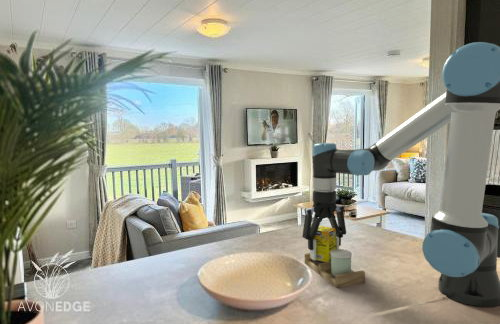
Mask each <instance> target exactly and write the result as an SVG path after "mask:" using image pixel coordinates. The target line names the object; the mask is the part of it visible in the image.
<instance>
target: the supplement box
mask: <svg viewBox="0 0 500 324" xmlns="http://www.w3.org/2000/svg"><path fill="white" fill-rule="evenodd" d="M314 240H316V260H313V261H314V262H318V263H325V262H331V251H332V250H335V249H336V229H335V228H332V226H331V227H330V226H324V225H319V227H318V230H317V233H316V235H315V238H314Z"/></svg>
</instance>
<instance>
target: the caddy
mask: <svg viewBox="0 0 500 324" xmlns="http://www.w3.org/2000/svg"><path fill="white" fill-rule="evenodd" d="M304 264H305V265H306V266H307V267H308V268H310V269H311V270H313V271H315V273H317V274H318V275H319V276H321V277H322V278H323V279H325V280H326V281H327V282H328V283H330V284H331V285H332V286H334V287H335V288H337V289H341V288H344V287H345V288H346V287H350V286H355V285H360V284H365V283H366V282H365V280H366V275H365V274H366V272H365V271H364V270H358V271H355V270H353V269H351V273H345V274H340V275H335V279H334V278H333V277H332V276H331V262H325V263H318V262H314V261H313V259H311V258H310V252H306V253H304Z"/></svg>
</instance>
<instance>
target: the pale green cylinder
mask: <svg viewBox="0 0 500 324" xmlns="http://www.w3.org/2000/svg"><path fill="white" fill-rule="evenodd" d="M351 270H352V252H351V251H350V250H347V249H343V248H339V249H335V250H332V251H331V276H332V277H333V278H334V279H335V275H340V274H345V273H351Z"/></svg>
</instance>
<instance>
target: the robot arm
mask: <svg viewBox="0 0 500 324" xmlns="http://www.w3.org/2000/svg"><path fill="white" fill-rule="evenodd" d="M441 79H442V82H443V85H444V87H445V89H446V91H445V92H444V93H442V94H441V95H439V96H437V97H436V98H435V99H434V100H433V101H431V102H430V103H429V104H427V105H425V106H424V107H423V108H422V109H420V110H419V111H417V112H415V113H414V114H413V115H412V116H411V117H409V118H407V119H406V120H405V121H404V122H402V123H401V124H399V125H398V126H396V127H395V128H394V129H393V130H391V131H390V132H388V133H387V134H385V135H384V136H383V137H381V138H380V139H378V140H377V141H376V142H375V143H372V145H370V146H369V147H367V148H360V149H359V148H357V149H337V148H338V147H337V144H336V143H335V142H334V143H332V142H324V143H323V142H321V143H320V142H319V143H315V144H314V145H313V147H312V157H311V158H312V189H313V191H312V201H313V204H312V207H310V208H308V207H305V208H304V222H303V230H302V236H301V237H302V238H304V240H306V241H307V248H308V250H310V251H309V253H310V258H311V259H313V260H316V240H314V238H315V235H316V233H317V230H318V227H320V226H321V225H320V224H321V222H323V220H324V219H326V218H327V219H328V221H329V223H330V226H331V228H335V229H336V249H340V246H341V245H342V239H343V237H344V235H346V234H347V227H346V222H345V220H346V219H345V206H343V205H341V204H336V202H337V191H336V190H337V174H344V175H353V176H356V177H357V176H358V177H359V176H369V175H370V174H371V173H372V172H374V171H375V172H376V171H380V170H383V169H385V168H386V167H387V166H388V165H389V163H390V162H392V161H393V160H394V159H396V158H398V157H399V156H401V155H402V154H403V153H405V152H407V151H408V150H410V149H411V148H413V147H415V146H416V145H418V144H419V143H420V142H422V141H423V140H425V139H427V138H428V137H430V136H432V135H433V134H434V133H436V132H437V131H439V130H441V129H442V128H444V127H445V126H447V125H448V124H449V129H448V139H447V147H446V154H445V163H444V172H443V179H442V188H441V194H440V195H441V197H440V204H439V208H438V209H437V210H436V211H434V212H433V213H432V215H431V221H430V230H429V233H427V234H426V235H425V237H424V239H423V241H422V247H421V249H422V254H423V256H424V259H425V261H426V262H428V264H429V265H430V267H432V268H433V269H434V270H435V271H436V272H438V273H439V274H440V276H439V278H438V286H437V287H438V288H437V289H438V290H439V292H440V293H441V294H442V295H443V296H446V297H447V298H449V299H450V300H452V301H453V300H454V301H455V302H458V303H462V304H464V305H468V306H474V307H483V308H490V307H491V308H493V307H499V306H500V278H499V275H498V271H497V268H498V267H497V266H498V265H497V264H498V262H497V261H498V245H499V244H498V239H499V229H500V226H499V218H498V217H497V216H495V215H493V214H490V213H485V212H483V204H484V199H485V191H486V184H487V179H488V178H487V177H488V169H489V163H490V162H489V161H490V156H491V155H490V154H491V147H492V143H493V141H492V139H493V135H494V134H493V133H494V127H495V121H496V120H495V119H496V114H497V112H498V111H500V46H499V45H497V44H495V43H490V42H485V41H483V42H482V41H478V42H477V41H476V42H471V43H467V44H465V45H462V46H461V47H458V48H457V49H456V50H454V51H453V52H452V53H451V54H449V56H448V58H447V59H446V61H445V62H444V64H443V67H442V71H441ZM335 213H336V215H335ZM336 218H337V220H336ZM312 219H313V220H312Z"/></svg>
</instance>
